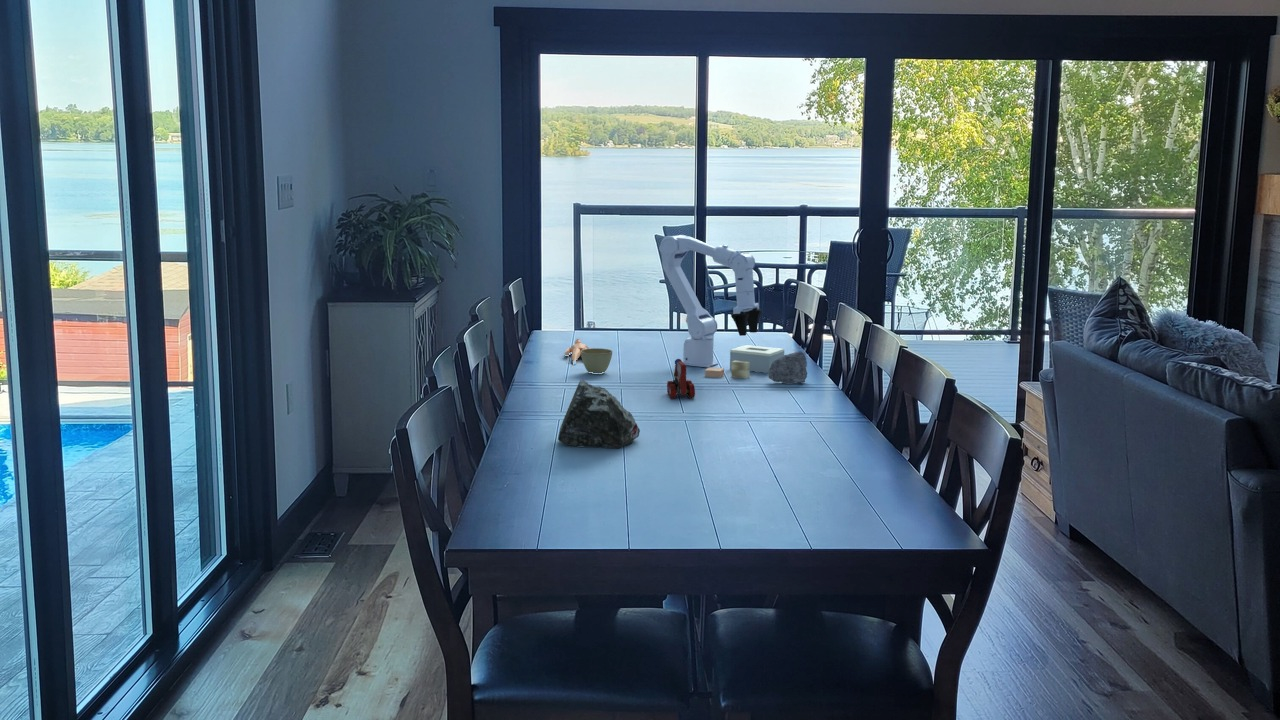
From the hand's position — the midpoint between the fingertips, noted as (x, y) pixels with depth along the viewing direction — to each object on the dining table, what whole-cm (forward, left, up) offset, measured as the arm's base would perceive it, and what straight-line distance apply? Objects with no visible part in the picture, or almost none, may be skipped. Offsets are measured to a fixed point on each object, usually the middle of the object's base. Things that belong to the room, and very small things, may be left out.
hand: (748, 334), depth 347 cm
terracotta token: (-4, -14, -12) cm, 19 cm away
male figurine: (-57, -12, -12) cm, 60 cm away
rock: (+20, -12, -12) cm, 26 cm away
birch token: (+4, -12, -12) cm, 17 cm away
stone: (+11, -104, -12) cm, 105 cm away
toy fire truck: (+2, -46, -12) cm, 48 cm away
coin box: (+2, +4, -12) cm, 13 cm away
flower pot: (-37, -31, -12) cm, 50 cm away
